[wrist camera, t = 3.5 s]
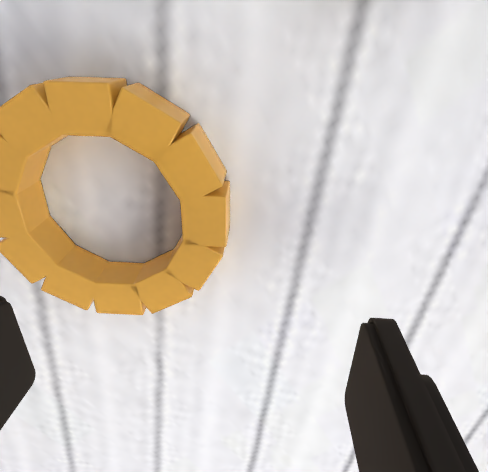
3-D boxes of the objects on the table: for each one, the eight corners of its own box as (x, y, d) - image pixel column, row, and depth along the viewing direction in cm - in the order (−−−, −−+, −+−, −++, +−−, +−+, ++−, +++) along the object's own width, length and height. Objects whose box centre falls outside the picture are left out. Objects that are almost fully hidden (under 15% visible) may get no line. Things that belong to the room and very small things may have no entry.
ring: (35, 286, 20) (14, 309, 19) (-34, 73, 15) (-73, 77, 13) (229, 295, 20) (226, 319, 18) (230, 80, 15) (226, 86, 13)
